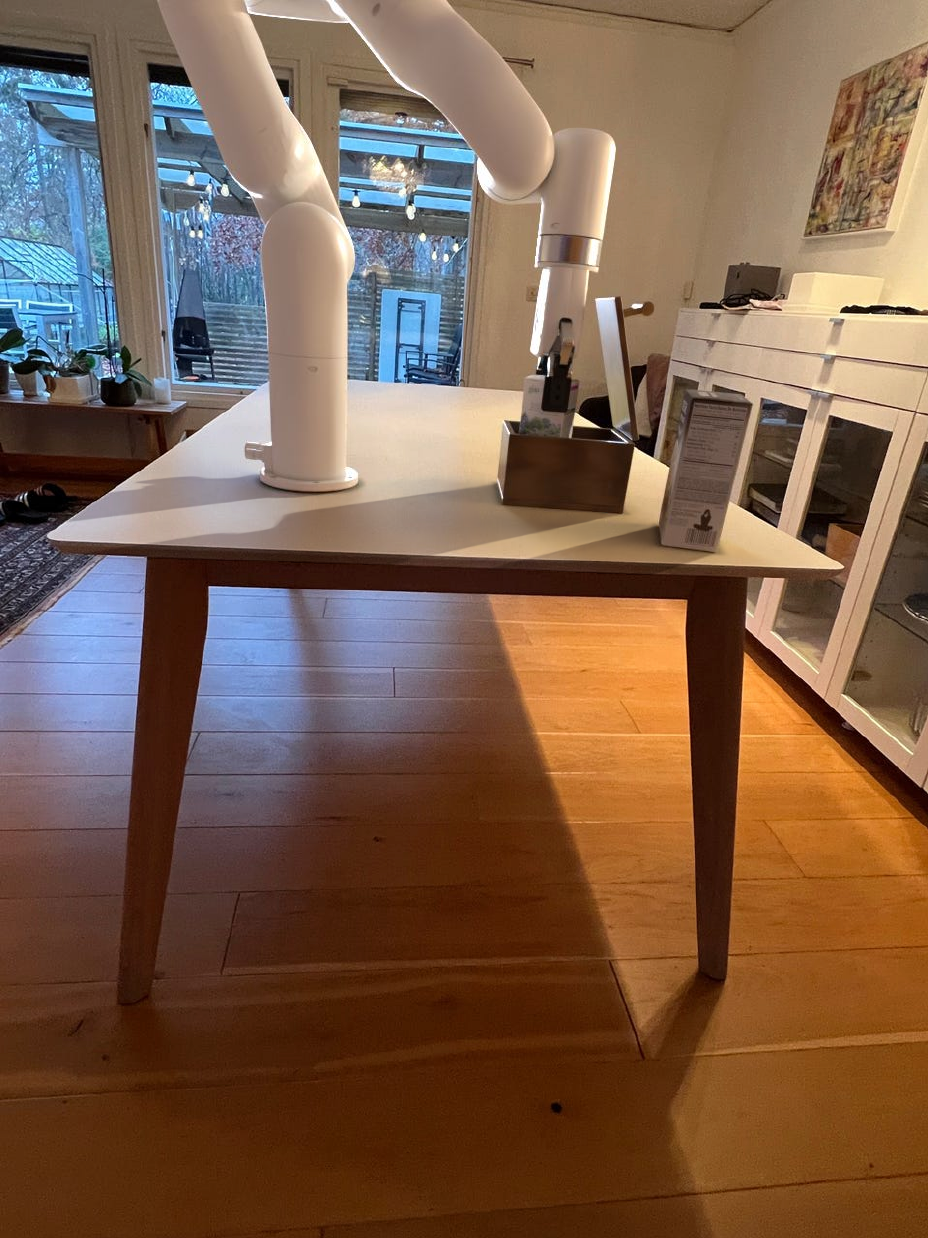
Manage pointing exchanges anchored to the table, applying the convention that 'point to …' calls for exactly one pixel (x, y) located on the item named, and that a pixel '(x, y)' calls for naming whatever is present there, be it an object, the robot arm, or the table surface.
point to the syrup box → (542, 421)
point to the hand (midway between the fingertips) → (548, 406)
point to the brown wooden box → (565, 469)
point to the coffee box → (703, 468)
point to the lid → (619, 359)
